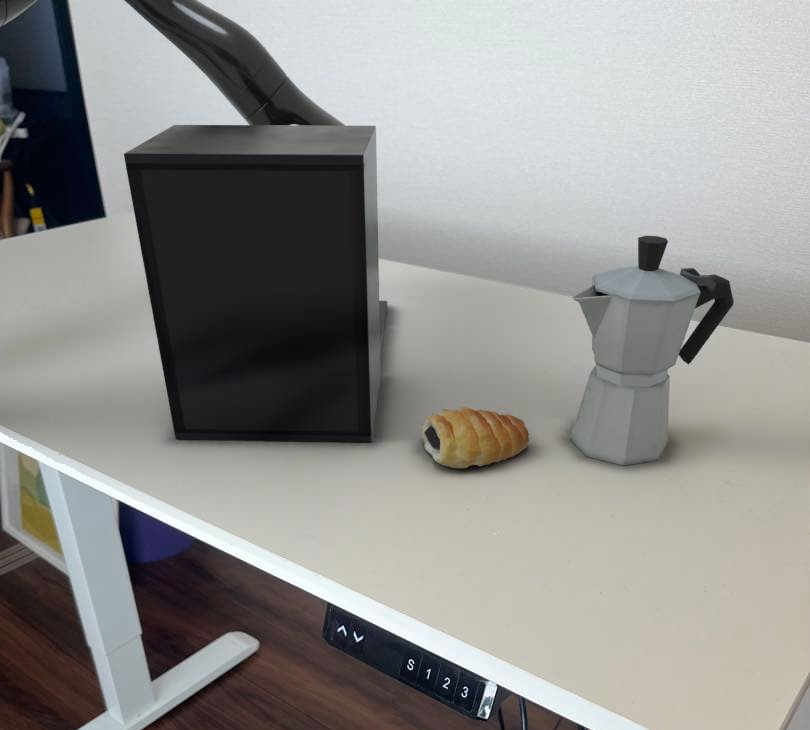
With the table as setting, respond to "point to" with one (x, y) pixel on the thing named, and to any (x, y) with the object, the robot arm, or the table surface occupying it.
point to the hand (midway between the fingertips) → (275, 233)
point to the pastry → (473, 437)
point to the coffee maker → (640, 351)
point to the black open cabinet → (263, 278)
